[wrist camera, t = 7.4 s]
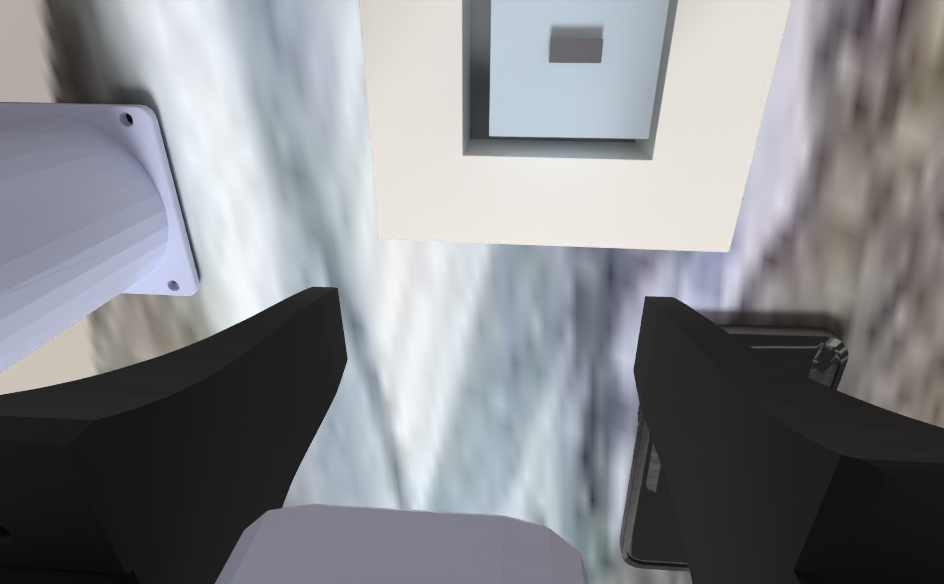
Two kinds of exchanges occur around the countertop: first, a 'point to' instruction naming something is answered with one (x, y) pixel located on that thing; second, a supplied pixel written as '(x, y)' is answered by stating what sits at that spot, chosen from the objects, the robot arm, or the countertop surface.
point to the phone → (649, 497)
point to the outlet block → (557, 158)
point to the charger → (574, 67)
